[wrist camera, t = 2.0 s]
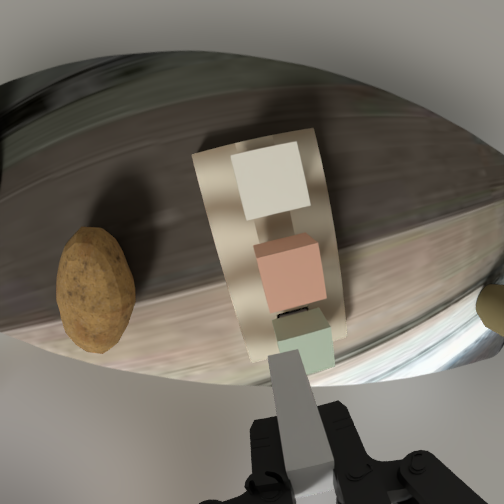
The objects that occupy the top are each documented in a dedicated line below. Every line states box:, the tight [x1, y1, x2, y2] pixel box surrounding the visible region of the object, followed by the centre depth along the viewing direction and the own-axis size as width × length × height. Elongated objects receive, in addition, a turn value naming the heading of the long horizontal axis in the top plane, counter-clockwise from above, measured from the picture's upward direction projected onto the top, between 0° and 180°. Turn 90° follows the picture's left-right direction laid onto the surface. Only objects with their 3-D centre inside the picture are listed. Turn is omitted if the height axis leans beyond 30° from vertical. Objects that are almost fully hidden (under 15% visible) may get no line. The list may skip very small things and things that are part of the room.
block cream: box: [231, 141, 311, 221], centre depth 23 cm, size 5×5×6 cm
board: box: [192, 128, 347, 363], centre depth 29 cm, size 24×12×2 cm, turn 13°
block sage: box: [272, 307, 335, 375], centre depth 28 cm, size 5×5×6 cm
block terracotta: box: [253, 232, 327, 314], centre depth 25 cm, size 5×5×6 cm
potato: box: [56, 227, 135, 354], centre depth 26 cm, size 10×14×8 cm
